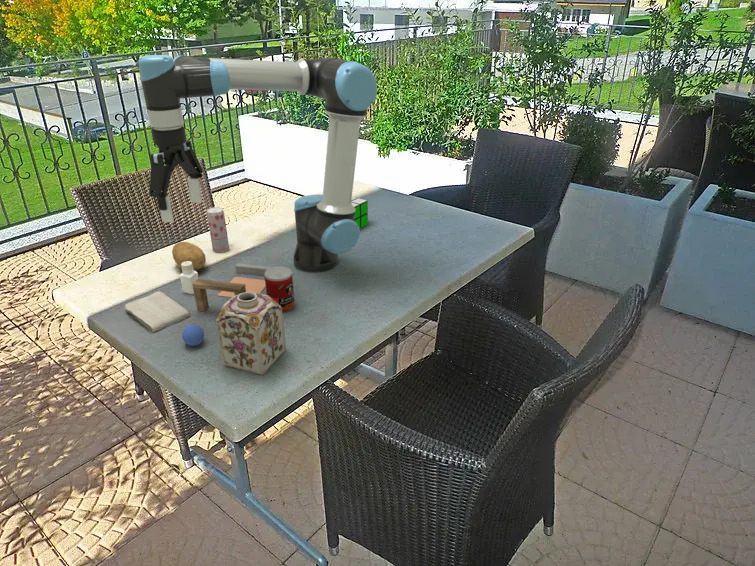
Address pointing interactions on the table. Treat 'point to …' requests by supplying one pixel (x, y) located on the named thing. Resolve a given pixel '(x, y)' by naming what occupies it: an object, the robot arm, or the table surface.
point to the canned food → (280, 286)
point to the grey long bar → (251, 269)
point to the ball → (193, 335)
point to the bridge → (202, 285)
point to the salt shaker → (188, 277)
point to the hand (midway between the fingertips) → (183, 211)
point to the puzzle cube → (360, 211)
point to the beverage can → (218, 229)
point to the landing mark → (250, 285)
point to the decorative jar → (251, 332)
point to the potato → (188, 254)
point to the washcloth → (156, 311)
